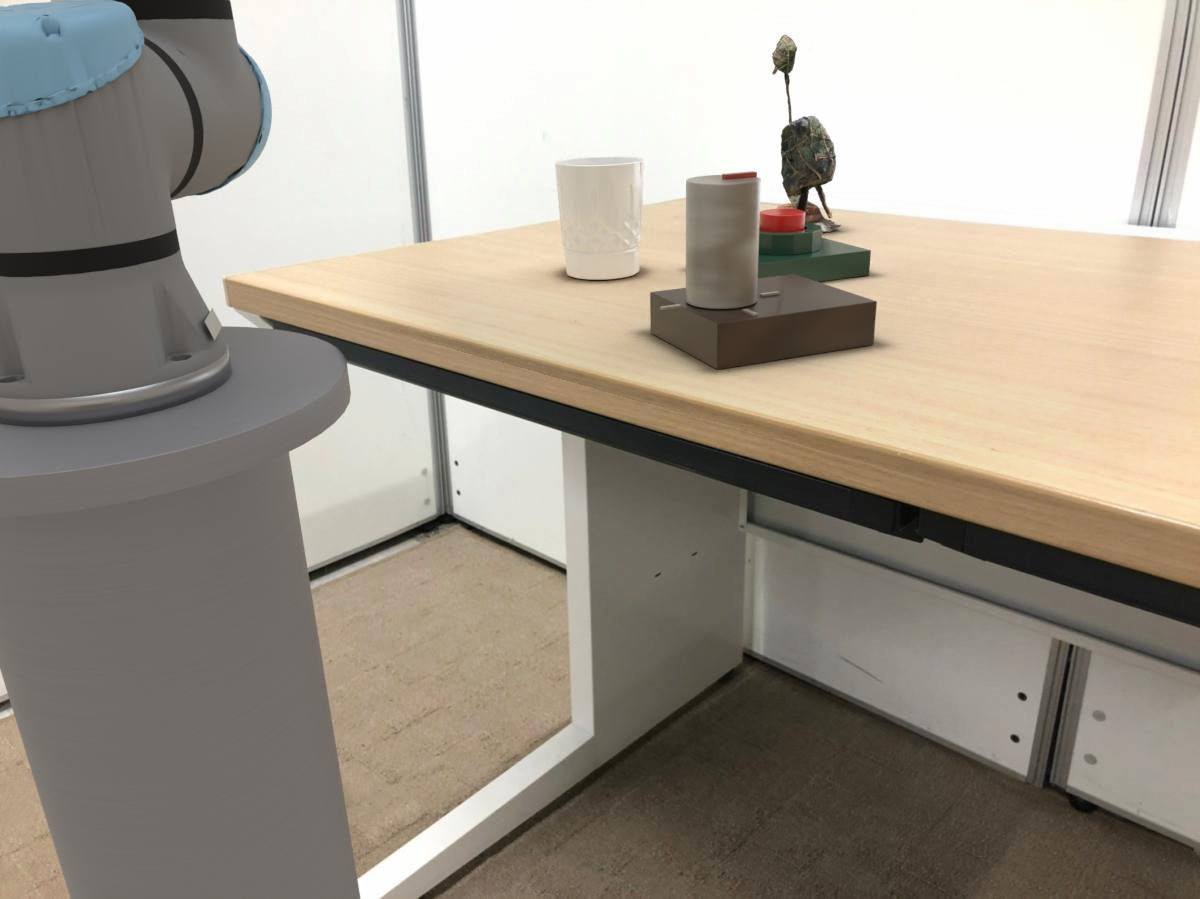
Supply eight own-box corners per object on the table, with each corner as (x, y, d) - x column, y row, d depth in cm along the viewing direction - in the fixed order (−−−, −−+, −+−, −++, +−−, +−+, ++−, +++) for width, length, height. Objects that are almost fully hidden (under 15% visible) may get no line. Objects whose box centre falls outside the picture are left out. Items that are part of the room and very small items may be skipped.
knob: (706, 312, 64) (707, 180, 61) (673, 297, 68) (673, 173, 65) (770, 303, 65) (775, 175, 62) (734, 289, 70) (737, 168, 66)
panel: (696, 373, 62) (696, 324, 61) (631, 335, 71) (630, 292, 69) (873, 344, 67) (877, 298, 65) (792, 312, 75) (794, 271, 74)
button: (774, 237, 85) (774, 216, 84) (750, 230, 88) (750, 210, 88) (813, 233, 86) (814, 212, 86) (788, 226, 90) (789, 207, 89)
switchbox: (750, 290, 82) (751, 242, 81) (694, 269, 91) (695, 225, 90) (869, 275, 87) (872, 229, 85) (805, 256, 95) (807, 214, 94)
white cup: (628, 261, 95) (626, 154, 92) (657, 276, 88) (656, 161, 85) (550, 268, 93) (544, 159, 90) (573, 285, 86) (568, 167, 83)
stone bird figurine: (778, 240, 104) (786, 33, 96) (753, 223, 114) (758, 35, 106) (854, 236, 104) (867, 31, 97) (821, 219, 115) (831, 33, 107)
